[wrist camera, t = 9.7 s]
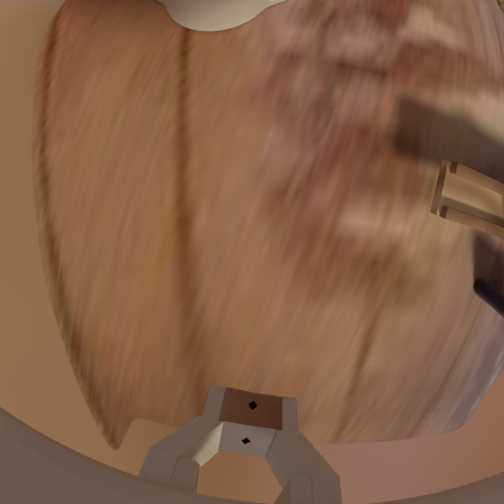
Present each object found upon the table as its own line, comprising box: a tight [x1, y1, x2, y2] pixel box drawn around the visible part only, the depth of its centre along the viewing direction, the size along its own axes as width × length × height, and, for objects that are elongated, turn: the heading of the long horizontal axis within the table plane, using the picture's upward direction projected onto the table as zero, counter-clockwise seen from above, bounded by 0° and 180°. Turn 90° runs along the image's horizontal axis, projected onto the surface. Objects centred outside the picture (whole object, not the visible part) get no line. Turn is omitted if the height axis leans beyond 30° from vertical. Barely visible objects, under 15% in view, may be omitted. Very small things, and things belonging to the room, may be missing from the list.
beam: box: [430, 160, 504, 238], centre depth 28 cm, size 6×24×11 cm, turn 80°
